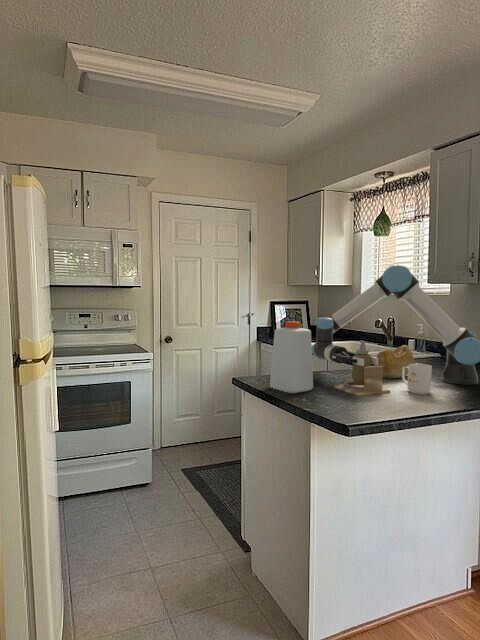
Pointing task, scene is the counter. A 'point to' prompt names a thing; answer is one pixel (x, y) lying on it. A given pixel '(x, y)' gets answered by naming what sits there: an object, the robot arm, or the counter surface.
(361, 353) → the squeeze bottle
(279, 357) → the plastic bottle
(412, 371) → the mug
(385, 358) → the rough brown rock
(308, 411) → the counter surface
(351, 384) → the cup bracket
